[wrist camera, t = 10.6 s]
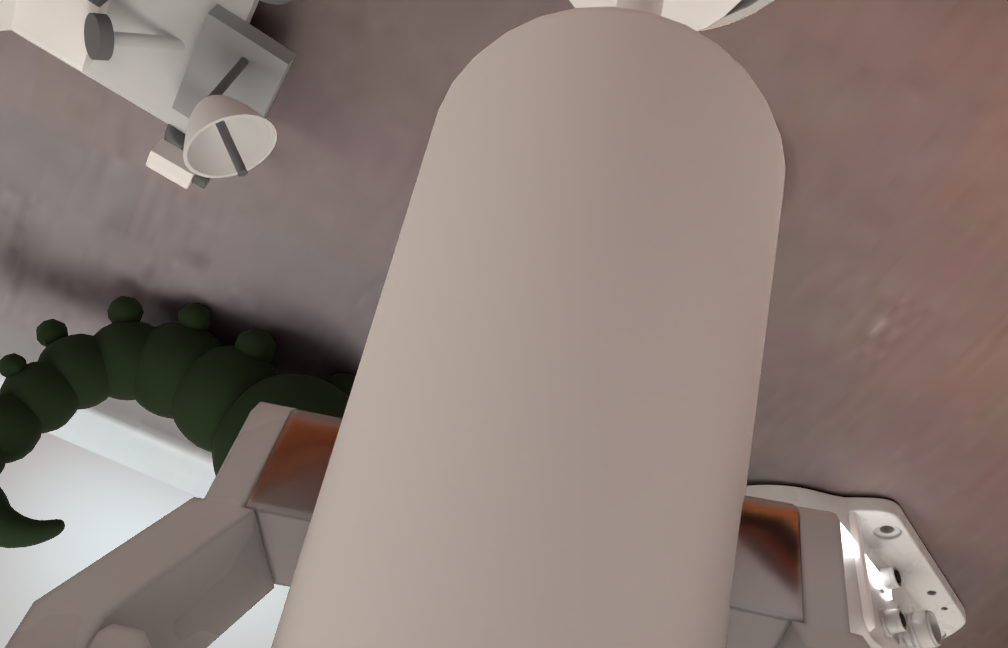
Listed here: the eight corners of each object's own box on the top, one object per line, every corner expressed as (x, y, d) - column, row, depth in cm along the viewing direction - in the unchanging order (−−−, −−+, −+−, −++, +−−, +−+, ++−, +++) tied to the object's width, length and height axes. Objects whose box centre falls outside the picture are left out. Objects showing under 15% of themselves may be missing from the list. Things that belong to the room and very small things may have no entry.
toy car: (282, 117, 34) (195, 288, 41) (362, 6, 40) (275, 170, 48) (-206, -184, 29) (-200, 70, 37) (-22, -251, 36) (-50, -25, 44)
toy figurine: (106, 323, 63) (427, 461, 63) (-95, 541, 50) (311, 716, 50) (100, 227, 56) (458, 381, 56) (-135, 449, 43) (334, 652, 43)
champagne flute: (707, -252, 23) (571, 540, 6) (811, -27, 26) (922, 904, 9) (500, -106, 26) (33, 655, 9) (614, 76, 29) (424, 888, 12)
